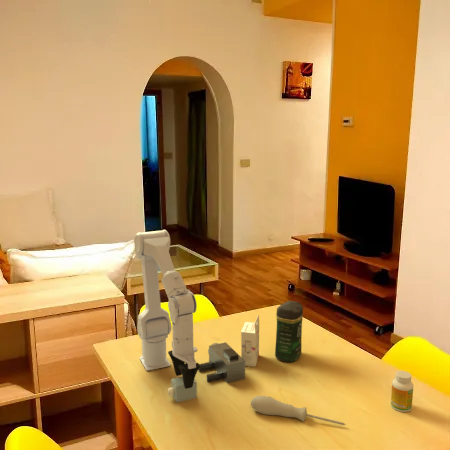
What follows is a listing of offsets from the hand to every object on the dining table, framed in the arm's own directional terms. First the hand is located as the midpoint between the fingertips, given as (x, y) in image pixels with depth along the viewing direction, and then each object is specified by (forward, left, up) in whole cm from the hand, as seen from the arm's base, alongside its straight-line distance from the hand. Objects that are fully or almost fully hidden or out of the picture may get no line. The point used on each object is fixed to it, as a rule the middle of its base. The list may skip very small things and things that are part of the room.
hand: (183, 380), depth 131 cm
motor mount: (-9, +14, -5) cm, 18 cm away
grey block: (0, 0, -5) cm, 5 cm away
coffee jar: (-8, +40, -5) cm, 41 cm away
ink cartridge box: (-11, +27, -5) cm, 30 cm away
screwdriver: (+22, +23, -5) cm, 33 cm away
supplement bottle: (+30, +52, -5) cm, 60 cm away
